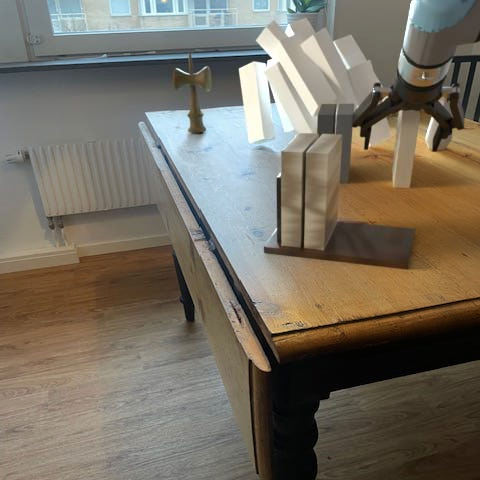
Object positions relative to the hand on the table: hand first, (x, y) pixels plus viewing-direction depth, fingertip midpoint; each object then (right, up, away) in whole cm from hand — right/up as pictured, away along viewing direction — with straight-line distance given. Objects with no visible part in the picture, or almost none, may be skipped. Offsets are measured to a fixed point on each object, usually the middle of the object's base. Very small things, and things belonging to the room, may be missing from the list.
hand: (399, 144), depth 98 cm
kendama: (-43, +19, +44) cm, 64 cm away
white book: (+1, -6, +2) cm, 7 cm away
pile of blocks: (-13, +11, +30) cm, 34 cm away
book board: (-16, -22, -21) cm, 34 cm away
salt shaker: (+15, +6, +19) cm, 25 cm away
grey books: (-12, -4, +6) cm, 14 cm away
